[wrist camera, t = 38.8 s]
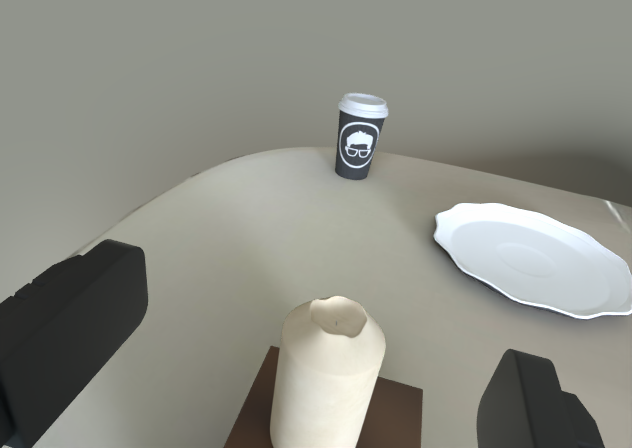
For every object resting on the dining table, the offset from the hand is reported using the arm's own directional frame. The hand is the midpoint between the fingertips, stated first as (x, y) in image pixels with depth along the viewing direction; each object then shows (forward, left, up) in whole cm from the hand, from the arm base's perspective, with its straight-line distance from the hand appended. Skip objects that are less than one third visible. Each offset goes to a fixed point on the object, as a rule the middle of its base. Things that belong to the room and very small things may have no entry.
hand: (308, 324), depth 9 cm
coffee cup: (+74, +7, -28) cm, 79 cm away
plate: (+55, -24, -28) cm, 66 cm away
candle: (+10, 0, -18) cm, 21 cm away
